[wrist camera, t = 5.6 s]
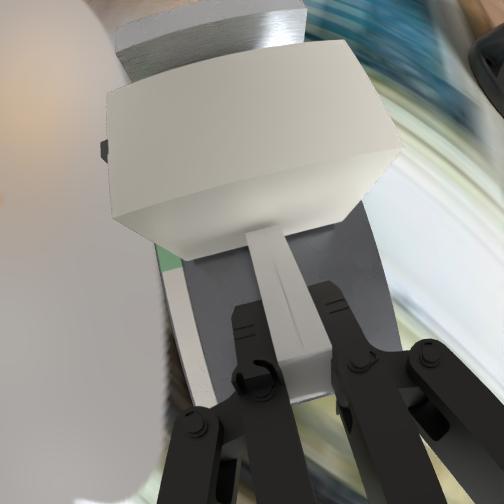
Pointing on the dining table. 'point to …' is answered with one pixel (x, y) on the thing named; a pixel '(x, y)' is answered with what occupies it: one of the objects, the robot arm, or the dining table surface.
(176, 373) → the dining table surface
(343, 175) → the block
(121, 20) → the dining table surface
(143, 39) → the frame
